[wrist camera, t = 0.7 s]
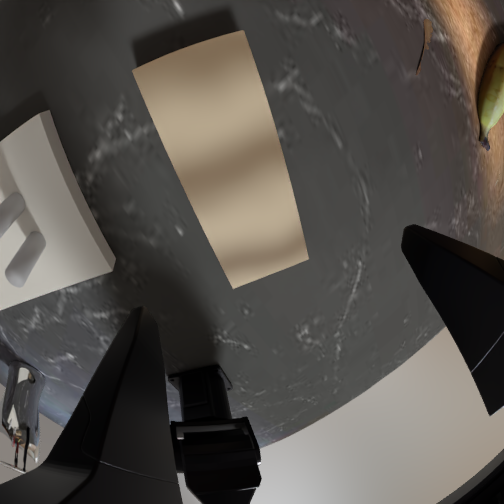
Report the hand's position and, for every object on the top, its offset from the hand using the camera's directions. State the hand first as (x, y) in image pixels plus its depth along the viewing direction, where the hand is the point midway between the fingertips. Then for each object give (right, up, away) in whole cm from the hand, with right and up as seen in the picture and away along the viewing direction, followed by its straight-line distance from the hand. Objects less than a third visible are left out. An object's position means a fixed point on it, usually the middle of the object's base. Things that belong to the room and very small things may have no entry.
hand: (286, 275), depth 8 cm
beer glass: (-32, -16, +17) cm, 39 cm away
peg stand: (-22, +2, +6) cm, 23 cm away
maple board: (-2, +6, +9) cm, 11 cm away
